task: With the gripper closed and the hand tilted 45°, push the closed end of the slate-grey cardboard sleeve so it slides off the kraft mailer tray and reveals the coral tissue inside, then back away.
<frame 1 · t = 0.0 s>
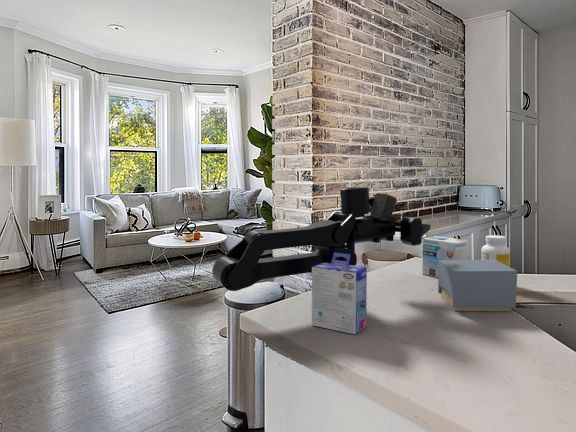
hand: (416, 224, 104), 17 cm above the worktop, tool horizontal, fingers open, 9 cm apart
light bulb box: (444, 276, 118), on the worktop
mailer tray: (474, 304, 93), on the worktop
supplement bottle: (494, 285, 108), on the worktop
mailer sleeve: (474, 282, 92), point 5 cm above the worktop, slide at 0.0 cm
ink cartridge box: (339, 327, 82), on the worktop
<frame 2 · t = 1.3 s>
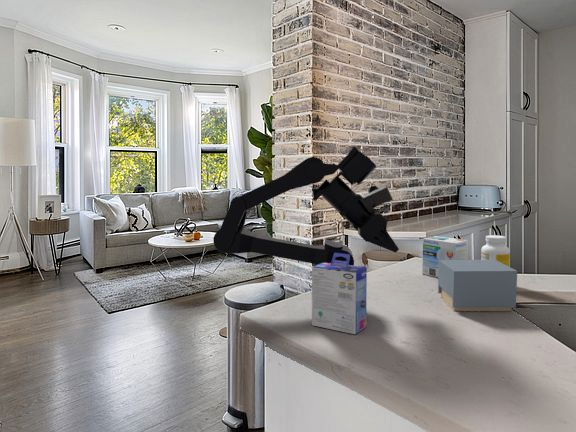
hand: (393, 247, 93), 13 cm above the worktop, tool tilted 45°, fingers open, 7 cm apart
nothing on the worktop moved.
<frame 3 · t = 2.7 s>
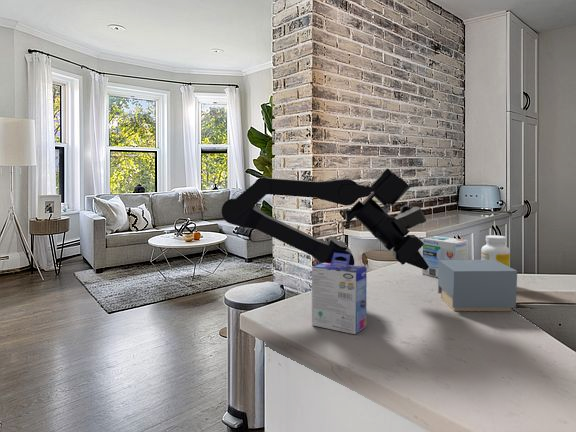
hand: (427, 268, 93), 8 cm above the worktop, tool tilted 45°, fingers closed
nothing on the worktop moved.
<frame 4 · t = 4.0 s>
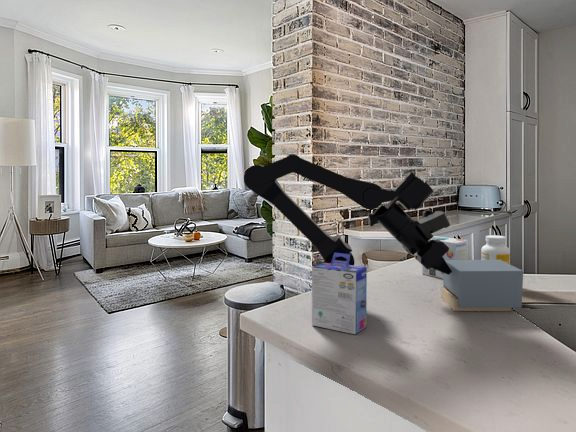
hand: (449, 272, 92), 7 cm above the worktop, tool tilted 45°, fingers closed, pressing on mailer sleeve
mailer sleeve: (480, 282, 92), point 5 cm above the worktop, slide at 1.2 cm, touching gripper
everything else where it was.
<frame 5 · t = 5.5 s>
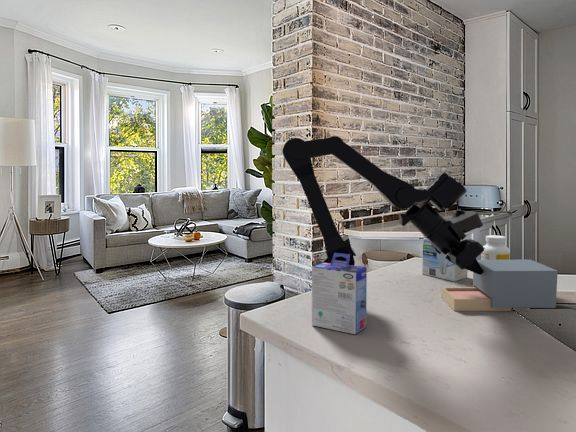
hand: (481, 273, 92), 7 cm above the worktop, tool tilted 45°, fingers closed, pressing on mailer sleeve
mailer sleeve: (512, 282, 92), point 5 cm above the worktop, slide at 8.1 cm, touching gripper
everything else where it was.
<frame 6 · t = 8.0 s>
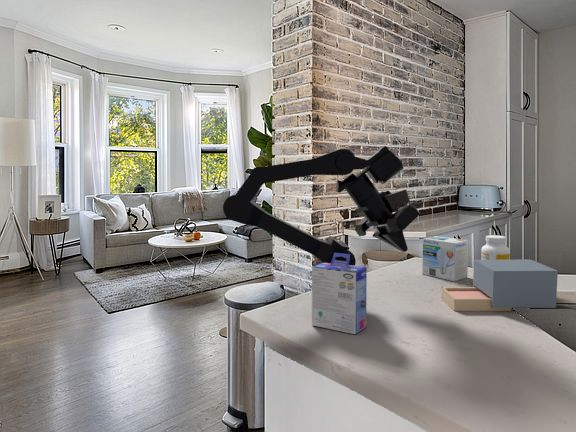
hand: (405, 250, 94), 12 cm above the worktop, tool tilted 35°, fingers closed
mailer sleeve: (512, 282, 92), point 5 cm above the worktop, slide at 8.2 cm
everything else where it was.
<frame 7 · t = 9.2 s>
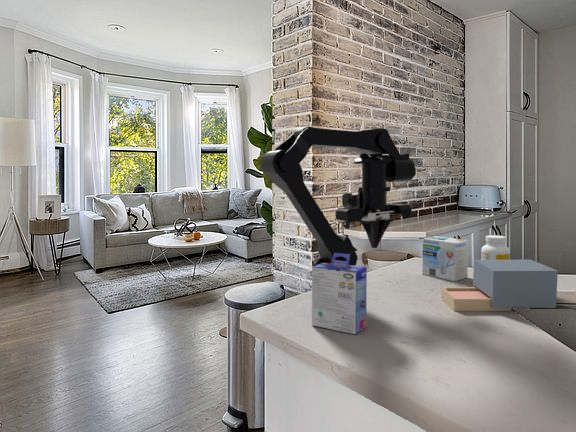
hand: (374, 247, 99), 12 cm above the worktop, tool pointing down, fingers closed
nothing on the worktop moved.
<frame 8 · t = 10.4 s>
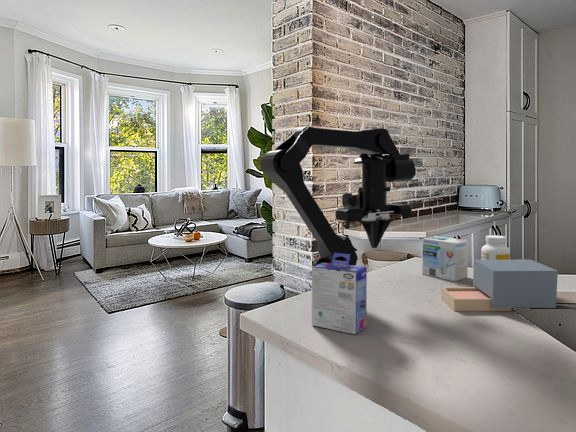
hand: (374, 247, 99), 12 cm above the worktop, tool pointing down, fingers closed
nothing on the worktop moved.
at the end: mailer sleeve slide at 8.2 cm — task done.
